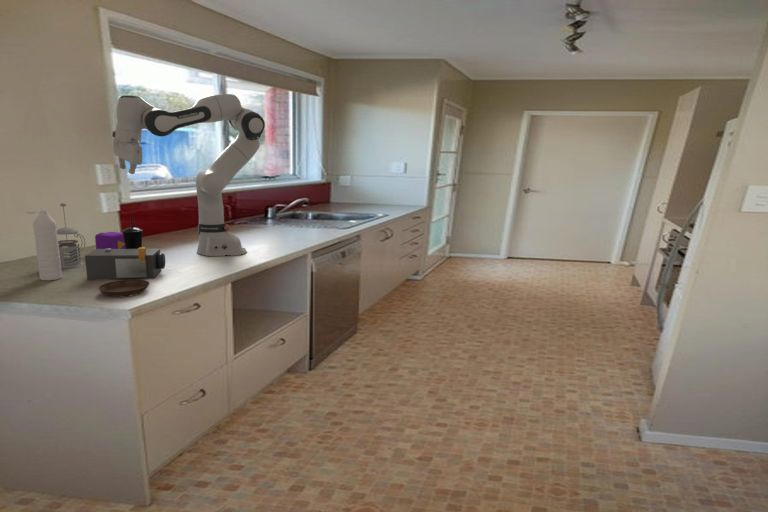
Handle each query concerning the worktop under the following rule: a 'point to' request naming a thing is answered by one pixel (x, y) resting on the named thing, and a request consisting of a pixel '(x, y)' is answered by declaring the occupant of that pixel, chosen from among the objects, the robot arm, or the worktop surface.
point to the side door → (132, 266)
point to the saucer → (123, 287)
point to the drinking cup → (132, 237)
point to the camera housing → (103, 260)
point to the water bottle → (46, 246)
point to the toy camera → (110, 240)
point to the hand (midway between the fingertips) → (127, 171)
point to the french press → (69, 247)
